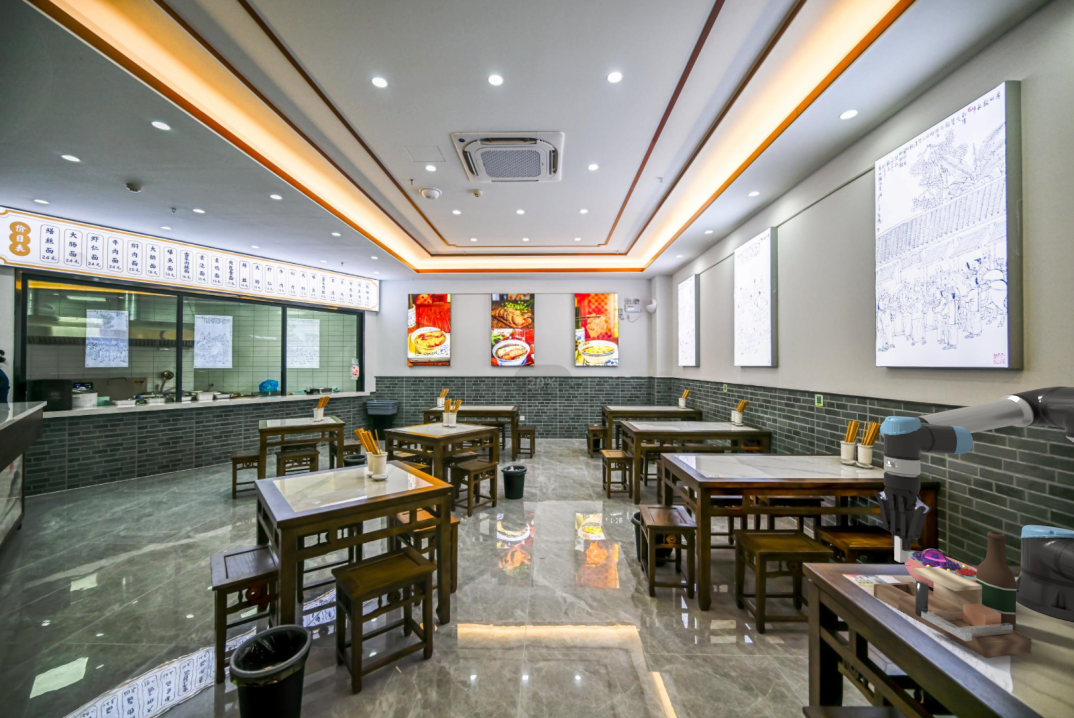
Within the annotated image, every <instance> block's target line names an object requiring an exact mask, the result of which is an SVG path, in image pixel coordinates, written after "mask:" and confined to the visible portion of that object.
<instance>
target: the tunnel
mask: <svg viewBox="0 0 1074 718" xmlns="http://www.w3.org/2000/svg"><path fill="white" fill-rule="evenodd" d="M913 572H914V573H916V574H918V575H920V576H923V577H925V578H927V579H929V580H931V581H934V588H933V596H935V597H937V598H939V599H941V600H943V601H945V602H947V603H950V604H952V605H954V606H956V607H958V608H960V609H963V605H964V604H976V603H979V604H981V605H982V585H980V584H978V583H975V582H973V581H971V580H968V579H966V578H963V577H961V576H959V575H956V574H954V573H951V572H949V571H947V570H944V569H942V568H939V567H930V568H913Z"/></svg>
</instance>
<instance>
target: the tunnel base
mask: <svg viewBox="0 0 1074 718" xmlns="http://www.w3.org/2000/svg"><path fill="white" fill-rule="evenodd" d="M933 591H934V590H933ZM933 591H932V590H930V589H929V590H928V611H929V612H936V611H947V610H959V609H960V608H958V607H956V606H954V605H952V604H950V603H947V602H945V601H943V600H941V599H939V598H937V597H935V596H933ZM873 597H874V598H876V599H878V600H880V601H881V600H882V602H883V603H885V604H887V605H889V606H890V607H892V608H894V609H896V610H898V611H899V612H902V613H904V614H905V615H907V616H909V617H911V618H913V619H914V620H916V621H918V622H920V623H921V624H923V625H925V626H927V627H929V628H930V629H932V630H934V631H936V632H938V633H939V634H941V635H943V636H945V637H947V638H948V639H950V640H953V641H955V642H956V643H958V644H960V645H961V646H963V647H965V648H967V649H968V650H970V651H972V652H974V653H976V654H978V656H981V657H983V658H984V659H985V658H986V659H991V658H999V657H1008V656H1015V655H1016V656H1017V655H1025V654H1026V655H1027V654H1031V653H1032V637H1029V636H1028V635H1026V634H1023V633H1021V632H1019V631H1017V630H1016V629H1015V630H1013V633H1009V634H999V635H989V636H979V637H972V640H971V641H964V640H962V639H961V638H959V637H957V636H955V635H953V634H951V633H949V632H948V631H946V630H944V629H942V628H940V627H938V626H937V625H935V624H933V623H931V622H929V621H927V620H925V619H924V618H922V617H919V616H917V615H916V614H915V599H916V582H914V581H905V582H903V581H902V582H889V583H887V582H886V583H875V584H873ZM948 622H950V623H952V624H954V625H956V626H958V627H969V626H973V625H971V624H969V623H967V622H965V621H963V619H960V620H949V621H948Z"/></svg>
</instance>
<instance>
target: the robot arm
mask: <svg viewBox="0 0 1074 718" xmlns="http://www.w3.org/2000/svg"><path fill="white" fill-rule="evenodd" d="M1011 426H1013V427H1016V428H1027V427H1031V426H1032V427H1033V426H1040V427H1042V426H1044V427H1055V428H1061V429H1064V430H1065V437H1066V438H1067V439H1068V440H1070V441H1071V442H1072V443H1074V386H1048V387H1042V388H1036V389H1031V390H1024V391H1022V392H1016V393H1011V394H1007V395H1003V396H1002V397H1000V398H999V399H998V400H994V401H990V402H984V403H980V404H975V405H969V406H965V407H964V406H963V407H958V408H955V409H949V410H945V411H939V412H934V413H929V414H925V415H920V416H913V417H912V416H898V415H894V416H893V415H889V416H886V417H885V419H884V420H883V422H882V423H881V425H880V427H879V432H880V434H881V436H882V438H883V470H884V471H885V472H883V484H884V486H885V487H884V489H883V491H880V492H875V493H874V496H875V498H876V501H877V502H878V506H879V511H880V515H881V520H882V525H883V529H884V531H889V533H890V534H891V545H892V547H894V549H893V551H894V552H893V553H894V561H896V562H898V563H905V562H908V551H912V540H917V539H920V538H921V535H922V532H923V529H924V525H925V521H926V518H927V514H929V512H931V510H932V507H931V506H930V505H926V504H925V503H924V502H922V501H921V500H922V498H921V496H920V494H919V493H920V490H921V477H920V475H921V457H922V455H921V454H922V453H923V454H926V453H927V454H929V453H930V454H943V455H945V454H946V455H947V454H949V455H951V456H952V455H963V454H967V453H969V452H970V451H971V450H972V448H973V445H974V439H973V436H972V434H974V433H978V432H984V431H989V430H995V429H1000V428H1004V427H1011ZM1015 581H1016V603H1018V604H1020V605H1023V606H1024V607H1027V608H1030V609H1031V610H1033V611H1036V612H1038V613H1042V614H1044V615H1048V616H1050V617H1054V618H1057V619H1061V620H1065V621H1070V622H1074V530H1072V529H1066V528H1060V527H1054V526H1047V525H1041V524H1040V525H1036V524H1028V525H1027V524H1026V525H1024V526H1023V527H1022V529H1021V535H1020V573H1019V575H1018V577H1017V578H1016V579H1015Z"/></svg>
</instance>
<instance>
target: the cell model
mask: <svg viewBox="0 0 1074 718" xmlns="http://www.w3.org/2000/svg"><path fill="white" fill-rule="evenodd" d="M905 565H911V566H905ZM904 566H905V568H906V570H907V572H908V573H909V575H910V576H911V578H912V579H914V580H915V581H922V582H925V583H927V584H928V585H929V587H930V588H931V589H934V581H931V580H929V579H927V578H925V577H923V576H920V575H918V574H916V573H914V572H913V568H930V567H939V568H942V569H944V570H947V571H949V572H951V573H954V574H956V575H959V576H961V577H963V578H966V579H968V580H971V581H973V582H975V583H976V573H977V568H976V567H974V566H971V565H968V564H966V563H965V562H962V561H959V560H958V559H957V560H956V559H954V558H952V557H948V556H946V555H945V554H944V552H941V551H940V550H938V549H935V548H926V549H924V550H922V551H919V550H910V551H908V562H904Z"/></svg>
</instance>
